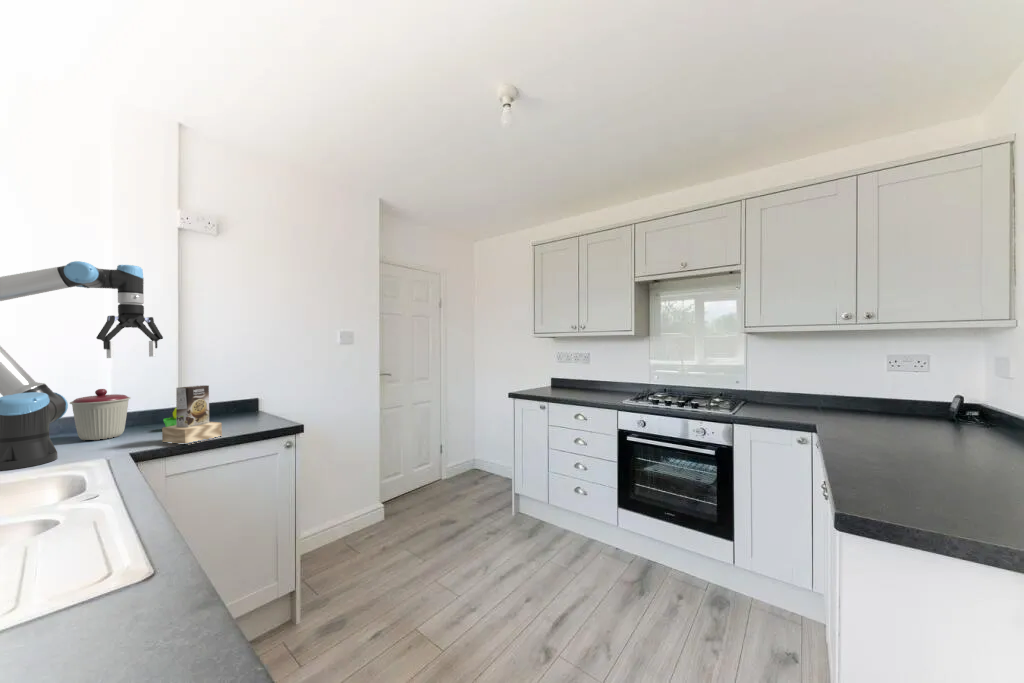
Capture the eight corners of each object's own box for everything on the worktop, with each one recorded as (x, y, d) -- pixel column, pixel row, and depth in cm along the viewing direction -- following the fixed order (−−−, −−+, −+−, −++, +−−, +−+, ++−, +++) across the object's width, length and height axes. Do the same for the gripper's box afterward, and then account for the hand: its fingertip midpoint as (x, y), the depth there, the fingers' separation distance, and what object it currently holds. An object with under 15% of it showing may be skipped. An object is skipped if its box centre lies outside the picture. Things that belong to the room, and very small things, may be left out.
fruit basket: (195, 425, 193) (194, 402, 193) (195, 428, 186) (195, 404, 186) (163, 429, 185) (163, 405, 185) (163, 432, 178) (162, 407, 178)
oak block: (185, 445, 155) (184, 429, 155) (162, 442, 160) (162, 427, 160) (221, 436, 169) (221, 422, 169) (199, 434, 173) (199, 420, 173)
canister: (142, 433, 177) (141, 386, 177) (96, 443, 159) (95, 391, 159) (106, 432, 179) (105, 386, 179) (57, 443, 161) (56, 391, 161)
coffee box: (188, 427, 159) (187, 387, 159) (175, 427, 161) (175, 387, 161) (210, 422, 168) (209, 385, 168) (198, 422, 170) (197, 384, 170)
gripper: (95, 301, 145) (96, 358, 145) (172, 306, 169) (173, 355, 169) (83, 302, 148) (84, 358, 148) (161, 307, 171) (162, 355, 171)
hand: (131, 357), depth 158 cm, fingers open, 13 cm apart
